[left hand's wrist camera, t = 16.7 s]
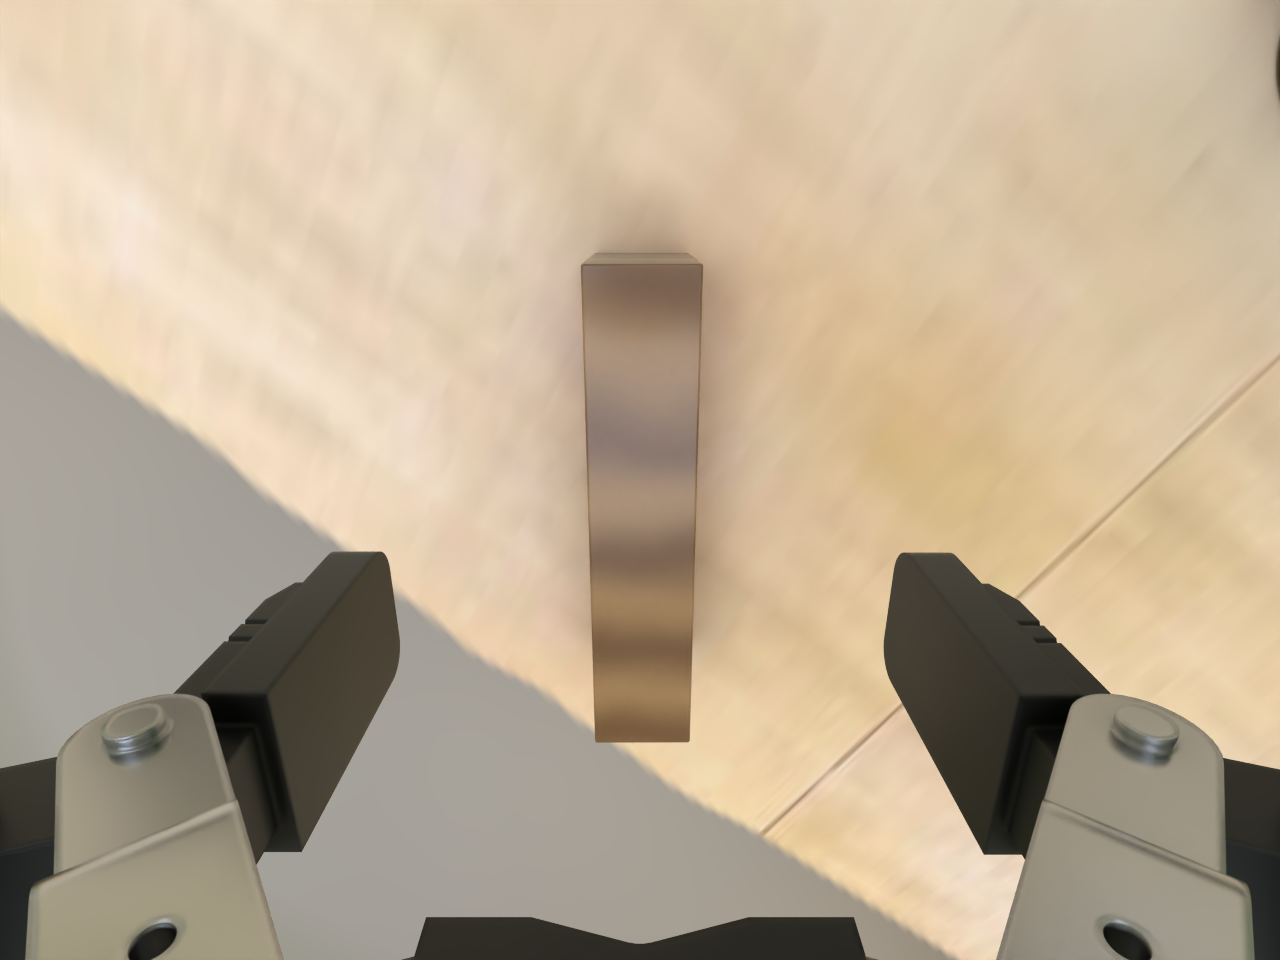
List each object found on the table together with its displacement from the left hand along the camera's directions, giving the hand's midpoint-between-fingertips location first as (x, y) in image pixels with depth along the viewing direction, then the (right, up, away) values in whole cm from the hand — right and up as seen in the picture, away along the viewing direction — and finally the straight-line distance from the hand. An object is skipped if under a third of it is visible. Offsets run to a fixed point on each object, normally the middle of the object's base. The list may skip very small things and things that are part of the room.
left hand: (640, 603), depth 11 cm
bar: (0, +3, +27) cm, 27 cm away
